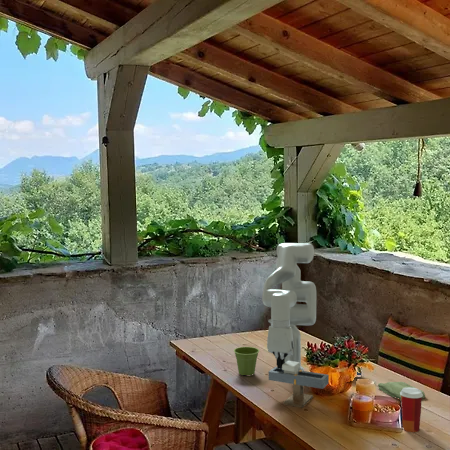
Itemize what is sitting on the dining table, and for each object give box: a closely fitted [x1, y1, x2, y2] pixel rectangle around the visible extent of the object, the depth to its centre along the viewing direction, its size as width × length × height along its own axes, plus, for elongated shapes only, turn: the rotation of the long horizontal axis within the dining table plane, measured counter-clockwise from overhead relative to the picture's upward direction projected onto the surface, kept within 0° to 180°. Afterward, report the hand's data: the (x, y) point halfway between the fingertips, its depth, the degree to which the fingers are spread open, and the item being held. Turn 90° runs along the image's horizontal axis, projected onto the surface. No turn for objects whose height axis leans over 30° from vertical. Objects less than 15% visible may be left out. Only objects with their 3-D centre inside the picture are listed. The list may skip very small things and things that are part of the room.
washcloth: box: [377, 381, 426, 400], centre depth 240 cm, size 13×18×3 cm
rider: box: [282, 361, 300, 374], centre depth 233 cm, size 5×6×5 cm
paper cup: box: [400, 387, 423, 433], centre depth 204 cm, size 8×8×14 cm
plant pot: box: [233, 346, 260, 376], centre depth 266 cm, size 12×12×11 cm
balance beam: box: [268, 366, 330, 409], centre depth 232 cm, size 23×12×12 cm, turn 62°
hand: (280, 367), depth 235 cm, fingers closed
